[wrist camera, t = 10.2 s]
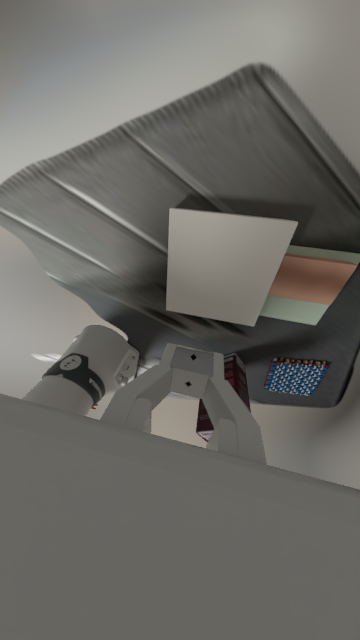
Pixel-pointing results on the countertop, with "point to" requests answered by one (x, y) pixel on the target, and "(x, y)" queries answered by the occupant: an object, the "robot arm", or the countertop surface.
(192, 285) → the pale grey square slab
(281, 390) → the woven mat
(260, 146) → the countertop surface
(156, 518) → the robot arm
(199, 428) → the supplement box
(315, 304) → the mat
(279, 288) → the terracotta flat block
